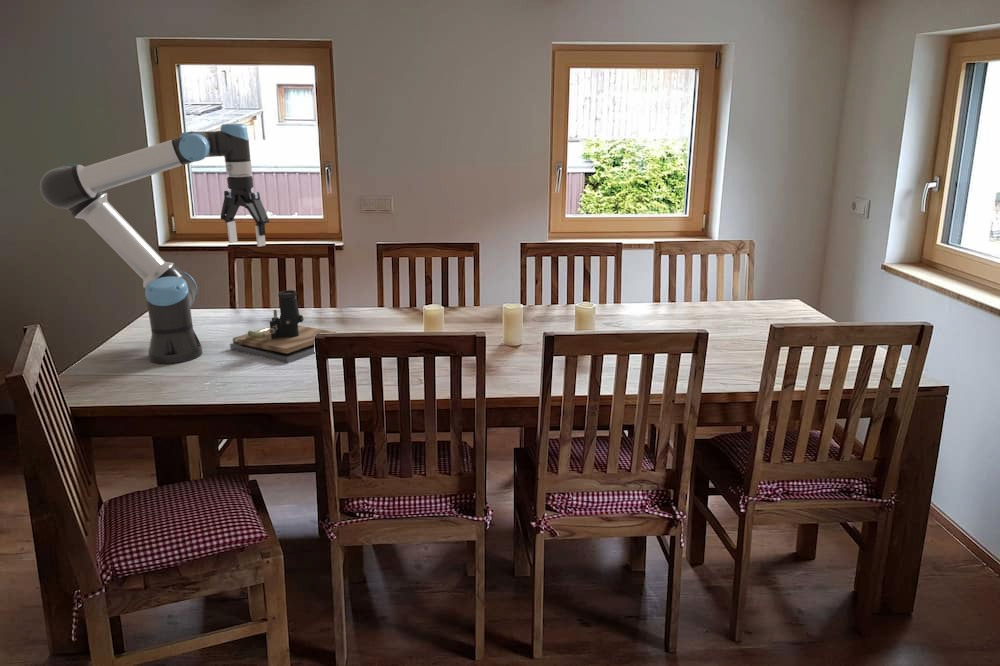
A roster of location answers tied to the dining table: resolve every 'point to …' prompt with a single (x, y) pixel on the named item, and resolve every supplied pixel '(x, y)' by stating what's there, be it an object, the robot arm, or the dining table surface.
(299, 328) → the board
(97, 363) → the dining table surface
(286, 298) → the scope
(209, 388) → the dining table surface
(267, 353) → the stand
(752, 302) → the dining table surface
